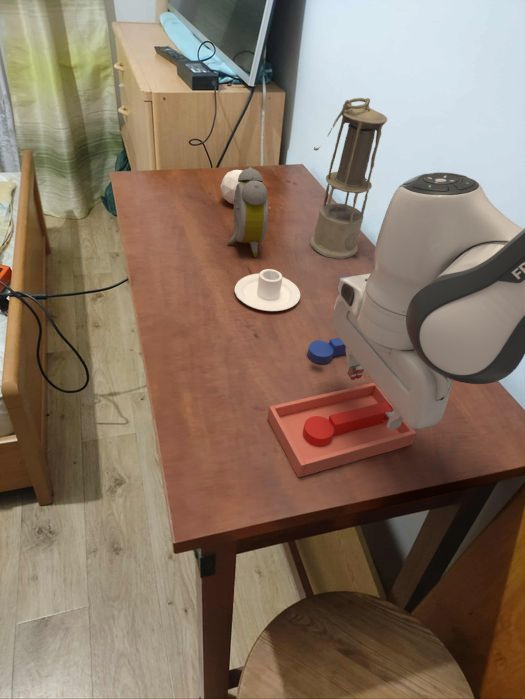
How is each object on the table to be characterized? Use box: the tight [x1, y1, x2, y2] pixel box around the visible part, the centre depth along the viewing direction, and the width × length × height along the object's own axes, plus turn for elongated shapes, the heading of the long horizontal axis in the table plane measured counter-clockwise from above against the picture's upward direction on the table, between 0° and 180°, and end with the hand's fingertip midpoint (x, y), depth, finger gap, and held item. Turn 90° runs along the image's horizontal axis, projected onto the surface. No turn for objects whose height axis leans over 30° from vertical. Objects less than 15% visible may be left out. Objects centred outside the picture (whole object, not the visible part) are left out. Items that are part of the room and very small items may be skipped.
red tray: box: [267, 382, 417, 478], centre depth 69 cm, size 17×10×2 cm, turn 112°
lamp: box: [309, 97, 388, 260], centre depth 100 cm, size 10×13×30 cm
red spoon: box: [303, 402, 392, 446], centre depth 69 cm, size 13×4×2 cm, turn 112°
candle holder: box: [233, 268, 301, 312], centre depth 92 cm, size 12×12×4 cm
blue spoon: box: [307, 337, 346, 365], centre depth 83 cm, size 13×4×2 cm, turn 112°
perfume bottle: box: [220, 169, 244, 205], centre depth 120 cm, size 8×8×12 cm
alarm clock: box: [226, 166, 269, 258], centre depth 102 cm, size 12×7×15 cm, turn 9°
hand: (371, 399), depth 67 cm, fingers open, 8 cm apart
